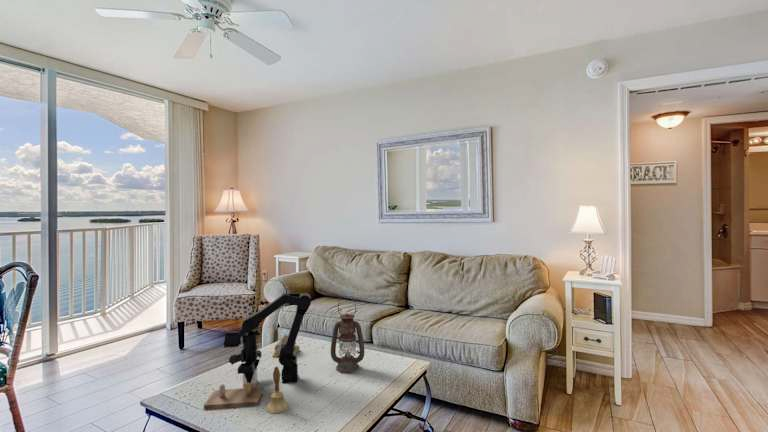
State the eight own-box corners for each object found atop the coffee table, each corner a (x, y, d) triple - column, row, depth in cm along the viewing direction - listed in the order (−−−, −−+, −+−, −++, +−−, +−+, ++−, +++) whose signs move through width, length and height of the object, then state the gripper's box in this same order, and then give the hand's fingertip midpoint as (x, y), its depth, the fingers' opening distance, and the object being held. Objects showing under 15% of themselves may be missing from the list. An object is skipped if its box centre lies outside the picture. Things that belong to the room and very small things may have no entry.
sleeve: (257, 381, 165) (257, 367, 165) (255, 386, 160) (254, 372, 160) (245, 381, 165) (245, 368, 164) (243, 387, 160) (242, 373, 160)
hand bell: (282, 414, 138) (281, 372, 137) (261, 412, 139) (261, 370, 139) (292, 403, 146) (291, 363, 145) (272, 401, 147) (272, 361, 147)
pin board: (263, 390, 156) (263, 375, 156) (257, 405, 144) (257, 389, 144) (214, 393, 154) (214, 378, 154) (203, 409, 142) (203, 392, 142)
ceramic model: (283, 360, 189) (283, 341, 188) (268, 356, 194) (268, 337, 194) (302, 351, 201) (302, 333, 200) (288, 347, 206) (287, 329, 206)
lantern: (363, 373, 172) (363, 298, 172) (329, 373, 172) (328, 299, 172) (365, 363, 183) (364, 293, 183) (332, 364, 183) (331, 293, 183)
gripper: (236, 339, 170) (237, 372, 171) (224, 354, 152) (224, 392, 152) (261, 337, 172) (261, 371, 172) (252, 353, 153) (252, 390, 153)
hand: (250, 380), depth 162 cm, fingers closed on sleeve, 5 cm apart
